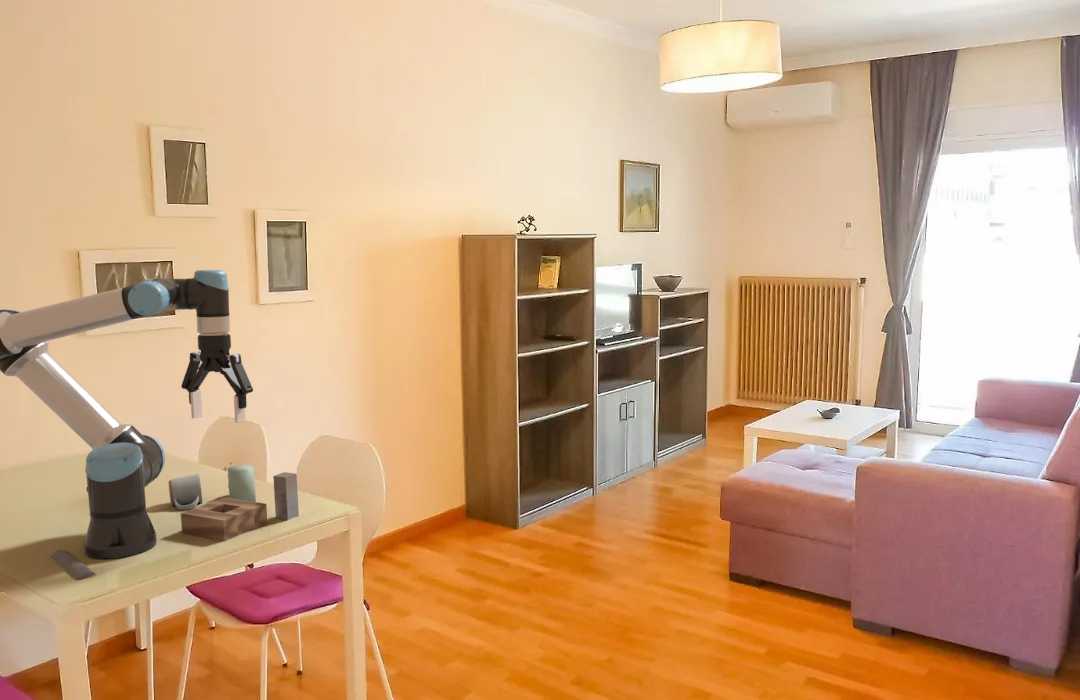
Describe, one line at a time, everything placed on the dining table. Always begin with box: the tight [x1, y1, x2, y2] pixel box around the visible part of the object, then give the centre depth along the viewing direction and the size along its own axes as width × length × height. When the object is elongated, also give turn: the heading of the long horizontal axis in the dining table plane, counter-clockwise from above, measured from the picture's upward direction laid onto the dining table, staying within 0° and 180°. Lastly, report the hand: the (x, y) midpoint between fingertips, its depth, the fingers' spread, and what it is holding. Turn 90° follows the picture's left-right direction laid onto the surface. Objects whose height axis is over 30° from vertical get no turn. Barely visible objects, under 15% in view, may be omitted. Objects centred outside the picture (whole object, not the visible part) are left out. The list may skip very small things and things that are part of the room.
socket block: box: [180, 497, 268, 542], centre depth 213 cm, size 14×14×5 cm
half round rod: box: [50, 549, 96, 581], centre depth 190 cm, size 4×20×2 cm, turn 44°
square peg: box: [273, 471, 300, 521], centre depth 221 cm, size 4×4×11 cm
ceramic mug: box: [167, 473, 203, 511], centre depth 233 cm, size 11×8×8 cm
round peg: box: [227, 464, 257, 502], centre depth 229 cm, size 6×6×11 cm
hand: (218, 419), depth 213 cm, fingers open, 13 cm apart
